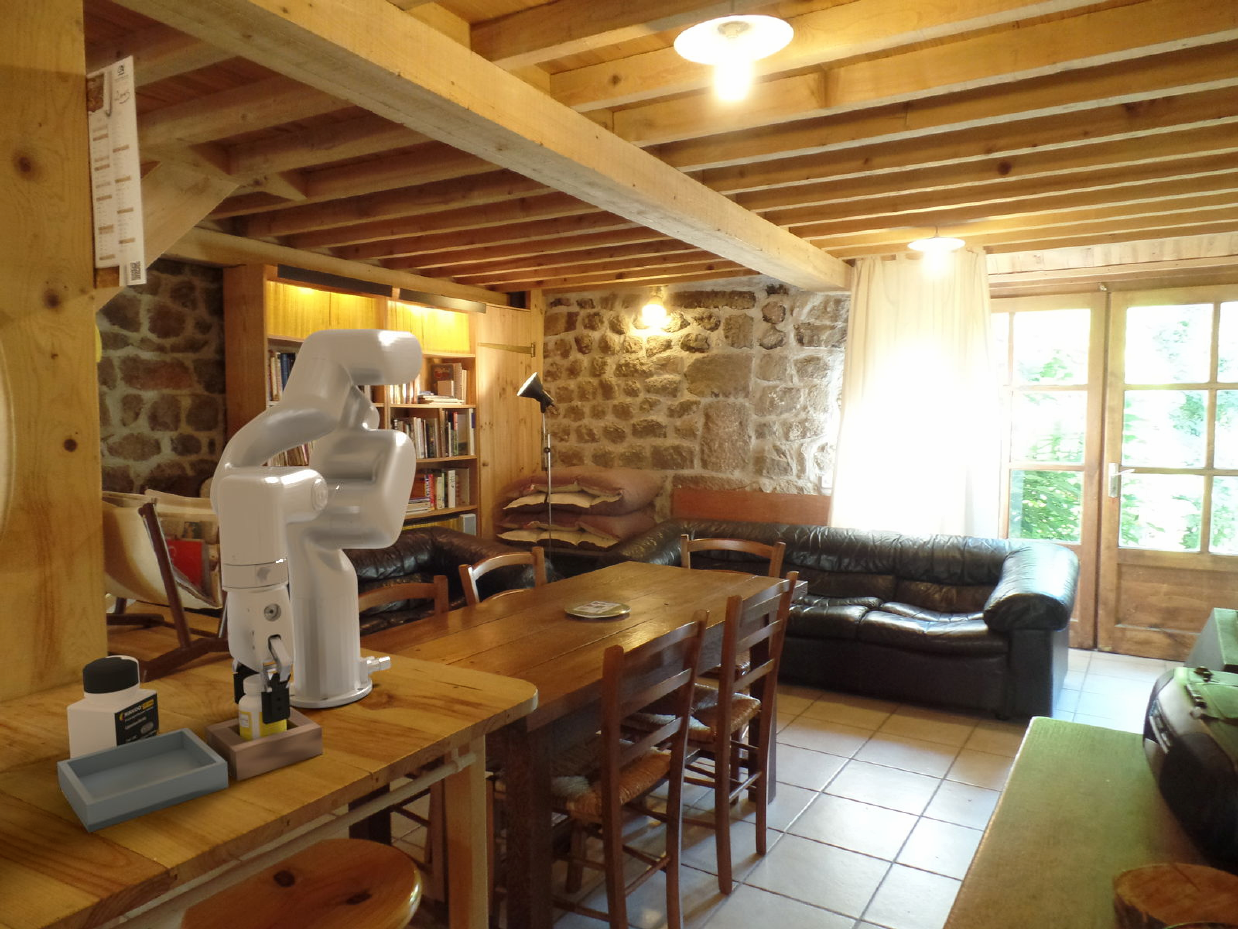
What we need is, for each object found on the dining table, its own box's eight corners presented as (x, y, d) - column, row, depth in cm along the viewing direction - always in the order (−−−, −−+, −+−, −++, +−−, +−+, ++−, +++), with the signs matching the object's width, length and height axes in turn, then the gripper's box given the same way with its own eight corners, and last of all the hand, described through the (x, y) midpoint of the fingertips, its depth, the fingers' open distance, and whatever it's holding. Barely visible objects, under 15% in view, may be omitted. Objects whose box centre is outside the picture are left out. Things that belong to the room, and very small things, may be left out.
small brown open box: (288, 729, 114) (287, 704, 113) (322, 753, 106) (321, 726, 106) (206, 753, 106) (205, 726, 106) (237, 781, 99) (235, 752, 99)
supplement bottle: (294, 744, 109) (290, 670, 108) (278, 763, 104) (274, 685, 103) (251, 745, 109) (247, 671, 108) (233, 764, 104) (229, 686, 103)
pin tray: (188, 750, 108) (186, 727, 107) (228, 787, 98) (227, 762, 97) (58, 787, 98) (57, 762, 98) (88, 833, 88) (86, 805, 88)
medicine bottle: (119, 767, 103) (112, 671, 102) (69, 762, 105) (62, 667, 103) (161, 742, 110) (155, 652, 109) (114, 738, 111) (108, 649, 110)
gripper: (315, 580, 100) (321, 722, 102) (258, 559, 113) (264, 686, 115) (251, 591, 95) (258, 740, 97) (198, 568, 108) (206, 700, 109)
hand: (262, 710), depth 106 cm, fingers open, 8 cm apart
